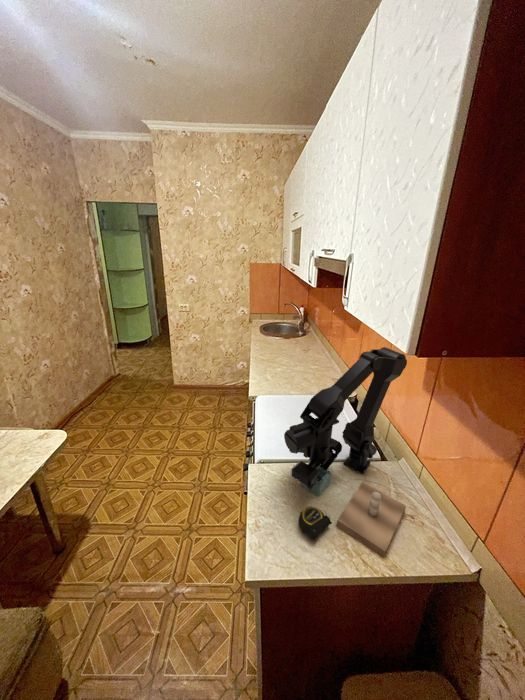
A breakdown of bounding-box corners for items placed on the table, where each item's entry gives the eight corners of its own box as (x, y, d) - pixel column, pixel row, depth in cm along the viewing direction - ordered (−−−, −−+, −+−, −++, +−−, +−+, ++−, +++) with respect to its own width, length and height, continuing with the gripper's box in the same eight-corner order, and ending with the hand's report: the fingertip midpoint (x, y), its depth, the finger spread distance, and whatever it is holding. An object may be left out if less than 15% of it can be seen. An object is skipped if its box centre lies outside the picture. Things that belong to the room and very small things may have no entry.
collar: (311, 472, 91) (312, 462, 90) (330, 483, 88) (331, 472, 86) (300, 484, 87) (301, 474, 85) (319, 496, 83) (320, 485, 82)
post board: (361, 487, 86) (366, 464, 83) (404, 510, 79) (411, 486, 76) (336, 525, 75) (340, 500, 72) (383, 557, 68) (390, 531, 65)
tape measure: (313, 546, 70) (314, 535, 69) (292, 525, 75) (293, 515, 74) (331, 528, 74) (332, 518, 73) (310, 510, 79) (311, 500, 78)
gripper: (312, 412, 92) (308, 452, 98) (276, 442, 79) (274, 485, 85) (345, 427, 86) (339, 468, 92) (312, 462, 73) (307, 508, 78)
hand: (315, 481), depth 87 cm, fingers closed on collar, 6 cm apart
